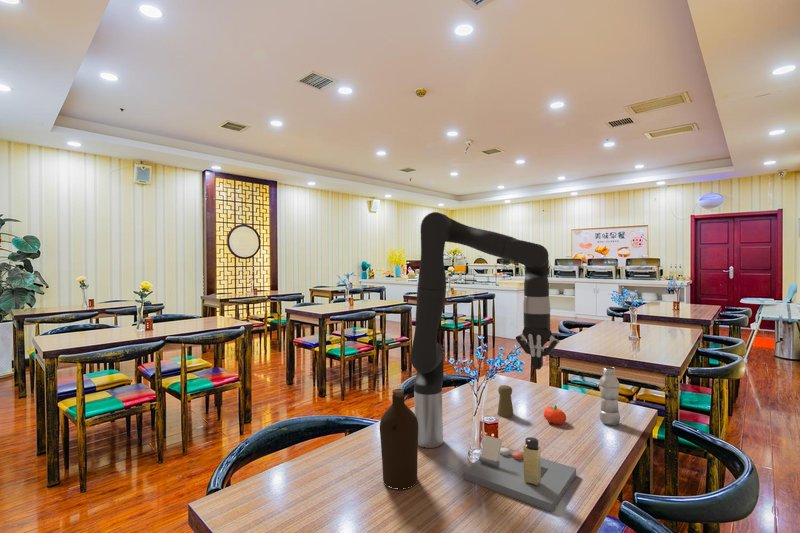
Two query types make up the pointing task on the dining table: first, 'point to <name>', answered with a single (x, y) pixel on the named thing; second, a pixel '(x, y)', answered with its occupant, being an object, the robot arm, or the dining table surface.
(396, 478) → the olive oil
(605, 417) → the plastic bottle
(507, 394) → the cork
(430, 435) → the robot arm
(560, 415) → the pumpkin
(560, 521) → the dining table surface
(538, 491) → the control board
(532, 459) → the slide lever
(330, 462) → the dining table surface
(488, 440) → the cream rectangular block
